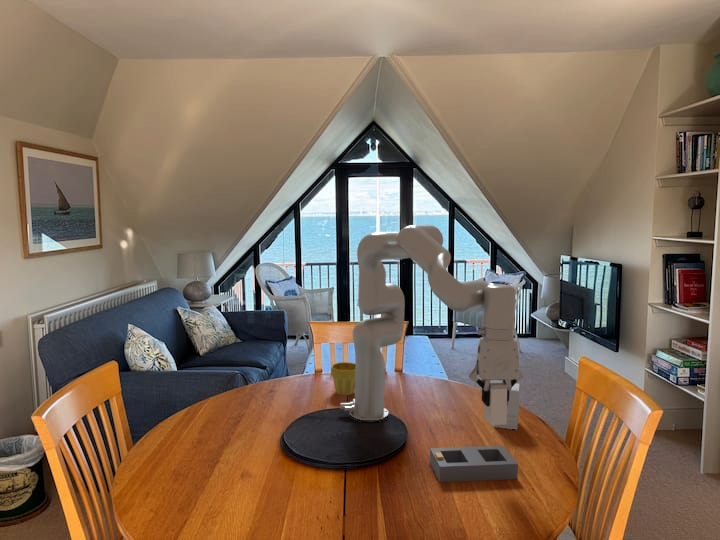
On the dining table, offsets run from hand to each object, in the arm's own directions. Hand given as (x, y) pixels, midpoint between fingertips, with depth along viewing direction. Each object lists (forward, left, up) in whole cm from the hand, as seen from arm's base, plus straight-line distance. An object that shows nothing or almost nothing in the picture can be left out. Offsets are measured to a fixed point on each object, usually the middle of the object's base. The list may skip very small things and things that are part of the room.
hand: (495, 403), depth 135 cm
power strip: (-5, 0, -18) cm, 19 cm away
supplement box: (+15, +28, -18) cm, 37 cm away
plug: (0, 0, -5) cm, 5 cm away
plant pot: (-33, +60, -18) cm, 71 cm away
